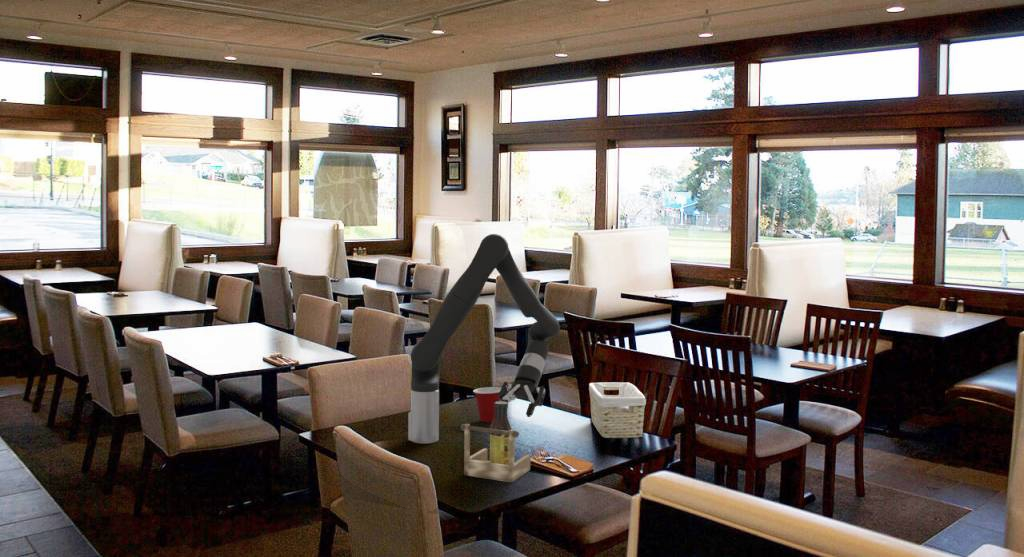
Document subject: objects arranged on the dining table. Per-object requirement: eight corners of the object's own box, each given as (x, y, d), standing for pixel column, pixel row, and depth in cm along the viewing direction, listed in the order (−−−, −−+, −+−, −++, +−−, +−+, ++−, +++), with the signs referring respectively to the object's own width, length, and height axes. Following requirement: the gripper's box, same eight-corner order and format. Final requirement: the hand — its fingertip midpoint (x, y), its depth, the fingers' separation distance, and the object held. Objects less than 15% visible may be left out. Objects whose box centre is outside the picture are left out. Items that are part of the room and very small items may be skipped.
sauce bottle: (507, 472, 254) (508, 405, 252) (487, 471, 256) (488, 404, 254) (512, 466, 261) (513, 400, 259) (492, 464, 262) (493, 399, 260)
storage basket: (646, 439, 295) (647, 396, 294) (599, 439, 294) (600, 396, 292) (630, 421, 319) (631, 381, 318) (586, 421, 318) (587, 381, 316)
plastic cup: (485, 416, 323) (485, 384, 322) (508, 420, 317) (509, 388, 316) (466, 421, 314) (467, 389, 313) (490, 426, 308) (491, 393, 307)
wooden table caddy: (458, 474, 254) (459, 424, 253) (479, 462, 267) (479, 414, 265) (516, 483, 247) (517, 431, 246) (534, 470, 259) (535, 421, 258)
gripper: (506, 361, 277) (490, 404, 267) (548, 365, 271) (533, 410, 262) (513, 375, 282) (497, 417, 273) (554, 379, 276) (539, 423, 267)
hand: (515, 414), depth 267 cm, fingers open, 8 cm apart
